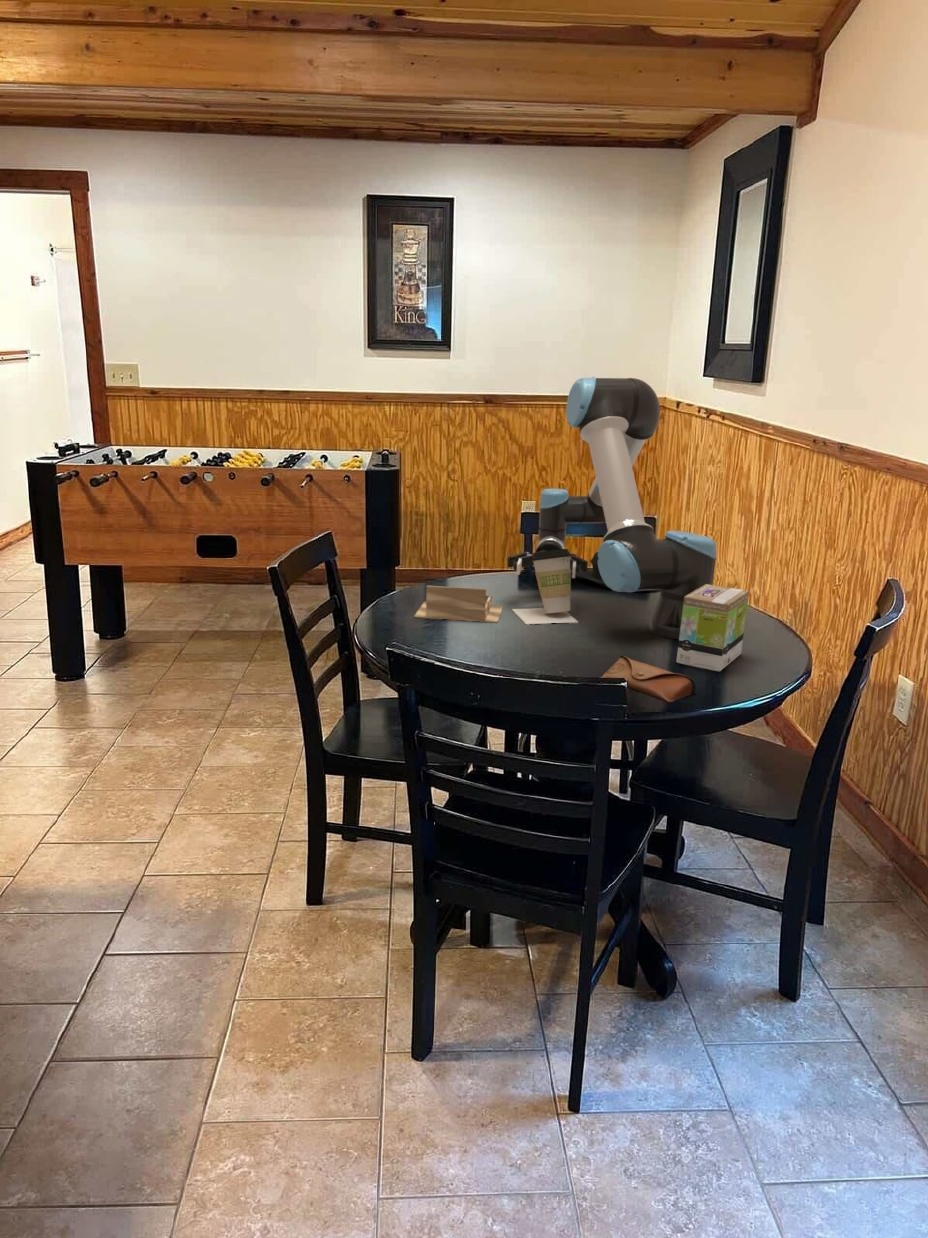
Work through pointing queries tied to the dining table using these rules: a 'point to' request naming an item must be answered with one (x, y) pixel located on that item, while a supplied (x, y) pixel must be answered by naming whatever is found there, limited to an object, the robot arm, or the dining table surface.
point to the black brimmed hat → (593, 572)
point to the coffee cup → (554, 579)
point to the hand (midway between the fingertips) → (545, 571)
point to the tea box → (712, 627)
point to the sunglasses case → (652, 679)
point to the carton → (458, 605)
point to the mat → (543, 616)
